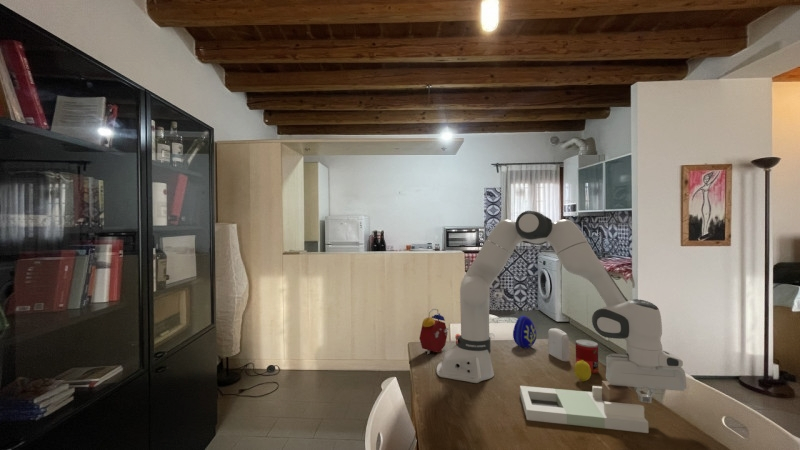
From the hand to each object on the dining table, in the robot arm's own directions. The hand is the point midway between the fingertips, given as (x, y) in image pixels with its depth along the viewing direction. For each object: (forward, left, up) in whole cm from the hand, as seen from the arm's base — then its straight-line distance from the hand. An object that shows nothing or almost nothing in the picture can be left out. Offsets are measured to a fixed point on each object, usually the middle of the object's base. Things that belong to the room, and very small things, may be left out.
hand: (644, 401), depth 101 cm
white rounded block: (-14, +47, -5) cm, 49 cm away
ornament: (-27, +58, -5) cm, 64 cm away
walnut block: (-8, 0, -2) cm, 8 cm away
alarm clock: (-68, +43, -5) cm, 80 cm away
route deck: (-19, 0, -5) cm, 19 cm away
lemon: (-11, +23, -5) cm, 26 cm away
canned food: (-6, +35, -5) cm, 36 cm away
